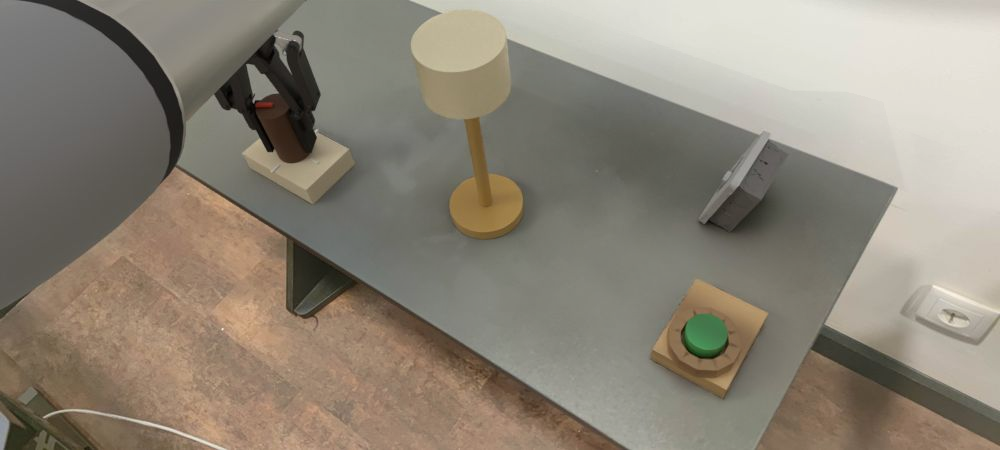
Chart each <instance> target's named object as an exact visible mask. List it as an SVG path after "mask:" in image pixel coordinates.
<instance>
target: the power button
mask: <svg viewBox="0 0 1000 450" xmlns="http://www.w3.org/2000/svg"><path fill="white" fill-rule="evenodd" d="M727 338H728V330H727V327H726V325H725V324H724V323H723V321H722V320H720V319H719V318H718V317H716V316H714V315H711V314H698V315H695V316H693V317H692V318H690V319H689V321H688V322H687V324H686V328H685V331H684V343H685V345H686V347H687V348H688V350H689V351H690V352H692V353H693V354H695V355H697V356H699V357H703V358H710V357H714V356H717V355H718V354H720V353H721V352H722V350H723V349H724V346H725V344H726V341H727Z"/></svg>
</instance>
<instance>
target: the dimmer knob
mask: <svg viewBox="0 0 1000 450" xmlns="http://www.w3.org/2000/svg"><path fill="white" fill-rule="evenodd" d="M259 100H260V101H259V102H256V105H255V106H256V114H257V116H258V118H259V120H260V122H261V124H262V125H263V127H264V129H265V131H266V133H267V135H268V137H269V139H270V141H271V143H272V145H273V147H274V149H275V151H276V153H277V155H278V157H279V158H280V160H282V161H283V162H286V163H296V162H299V161H302V160H303V159H305V158H306V157H307V156H308V155H309V154H310V153H306V152H305V150H304V148H303V146H302V144H301V142H300V139H299V137H298V135H297V133H296V131H295V129H294V127H293V124H292V122H291V120H290V118H289V115H290V112H291V108H290V107H289V106H288V104H287V103H286V102H285V100H284V99H283V98H282V97H281V95H280V94H279V93H272V94H269V95H266V96H264V97H263V98H261V99H259Z"/></svg>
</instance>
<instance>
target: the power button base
mask: <svg viewBox="0 0 1000 450" xmlns="http://www.w3.org/2000/svg"><path fill="white" fill-rule="evenodd" d="M698 314H711V315H714V316H716V317H718V318H719V319H720V320H722V321H723V323H724V324H725V325H726V327H727V330H728V338H727V341H726V344H725V346H724V349H723V350H722V352H721V353H720V354H718V355H717V356H714V357H710V358H703V357H699V356H697V355H695V354H693V353H692V352H690V351H689V350H688V348H687V347H686V345H685V343H684V331H685V328H686V324H687V322H688V321H689V319H690V318H692V317H693V316H695V315H698ZM768 316H769V312H767V311H766V310H763V309H761V308H759V307H757V306H754V305H752V304H750V303H749V302H746V301H744V300H742V299H740V298H739V297H736V296H734V295H732V294H731V293H728V292H726V291H724V290H721V289H720V288H718V287H716V286H714V285H712V284H710V283H707V282H705V281H703V280H701V279H699V278H695V280H694V281H693V283H692V285H691V286H690V288H689V289H688V291H687V293H686V294H685V296H684V297H683V299H682V301H681V302H680V304H679V306H678V307H677V308H676V310H675V312H674V313H673V315H672V317H671V318H670V320H669V322H668V323H667V325H666V326H665V328H664V330H663V331H662V333H661V334H660V336H659V338H658V339H657V341H656V342H655V344H654V345H653V346H652V349H651V353H650V360H652V361H654V362H655V363H658V364H659V365H662V366H663V367H665V368H666V369H668V370H670V371H672V372H674V373H675V374H677V375H679V376H681V377H683V379H686V380H688V381H690V382H692V383H693V384H696V386H699V387H700V388H702V389H704V390H706V391H708V392H710V393H712V394H713V395H715V396H717V397H719V398H721V399H724V398H725V396H726V395H727V392H728V391H729V389H730V387H731V385H732V383H733V382H734V380H735V378H736V376H737V374H738V372H739V371H740V369H741V366H742V365H743V363H744V362H745V360H746V359H747V356H748V354H749V353H750V351H751V349H752V347H753V345H754V343H755V341H756V339H757V338H758V336H759V334H760V332H761V330H762V328H763V326H764V325H765V323H766V320H767V317H768Z"/></svg>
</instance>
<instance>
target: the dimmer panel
mask: <svg viewBox="0 0 1000 450" xmlns="http://www.w3.org/2000/svg"><path fill="white" fill-rule="evenodd" d="M319 131H320V130H319V129H318V128H316V129H314V132H315V134H316V136H317V139H316V142H315V145H314V148H313V150H312V153H310V154H309V155H308V156H307V157H306V158H305V159H303V160H302V161H299V162H296V163H286V162H283V161H282V160H280V158H279V157H278V155H277V153H276V151H275V149H274V151H273V152H267V150H266V148H265V147H264V145H263V143H262V141H261V139H260V137H259V138H257V140H256V141H254V142H253V143H252V144H251V145H249V146H248V147H247V148H246V149H245V150H244V151H243V152H242V153H241V154H242V156H243V157H244V159H245V161H246V163H247V165H248V166H249V168H250V169H251V170H252V171H254V172H256V173H258V174H260V175H261V176H263V177H265V178H267V179H269V181H272V182H274V183H275V184H277V185H278V186H281V187H282V188H284V189H286V190H287V191H289V192H291V193H292V194H294V195H296V196H298V197H300V198H301V199H303V200H305V201H306V202H308V203H309V204H312V205H315V204H316V202H318V201H319V200H320V199H321V198H322V197H323V196H324V195H325V194H326V193H327V192H328V191H329V190H330V189H332V187H334V185H335V184H336V183H338V181H340V179H341V178H343V177H344V176H345V174H347V172H349V171H350V170H351V169H352V168H353V167H354V166H355V165H356V163H355V161H354V158H353V155H352V153H351V150H350V148H348V147H346V146H345V145H342V144H340V143H339V142H337V141H335V140H333V139H331V138H329V137H327V136H326V135H323V134H321V133H319Z"/></svg>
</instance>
